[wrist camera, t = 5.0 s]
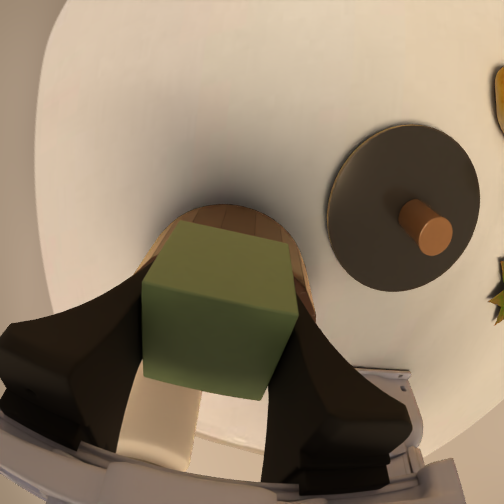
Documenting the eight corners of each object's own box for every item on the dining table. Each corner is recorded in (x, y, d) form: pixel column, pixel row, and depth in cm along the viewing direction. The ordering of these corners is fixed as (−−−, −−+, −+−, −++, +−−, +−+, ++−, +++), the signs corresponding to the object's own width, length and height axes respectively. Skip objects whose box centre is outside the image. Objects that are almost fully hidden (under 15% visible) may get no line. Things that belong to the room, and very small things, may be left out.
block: (288, 243, 12) (300, 314, 8) (261, 324, 14) (260, 401, 10) (179, 219, 12) (141, 281, 8) (170, 305, 14) (142, 377, 10)
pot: (325, 225, 20) (345, 270, 15) (280, 344, 26) (282, 398, 21) (158, 189, 19) (123, 223, 14) (150, 317, 25) (128, 367, 20)
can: (152, 381, 29) (124, 477, 19) (134, 339, 26) (92, 447, 16) (210, 385, 29) (195, 490, 18) (200, 342, 26) (174, 464, 15)
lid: (491, 161, 17) (526, 178, 13) (433, 294, 23) (454, 326, 19) (355, 95, 16) (381, 95, 12) (302, 267, 22) (309, 304, 18)
